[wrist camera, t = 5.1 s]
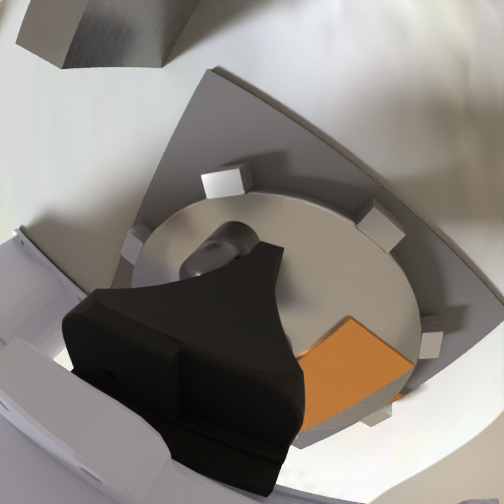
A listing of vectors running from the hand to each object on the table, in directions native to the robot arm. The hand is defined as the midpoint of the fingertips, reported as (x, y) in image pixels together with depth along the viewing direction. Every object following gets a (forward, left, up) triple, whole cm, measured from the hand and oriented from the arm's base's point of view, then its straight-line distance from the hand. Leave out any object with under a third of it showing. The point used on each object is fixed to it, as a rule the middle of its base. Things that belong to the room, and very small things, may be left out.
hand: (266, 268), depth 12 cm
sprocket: (+2, -5, -3) cm, 6 cm away
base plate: (+2, -5, -3) cm, 6 cm away
